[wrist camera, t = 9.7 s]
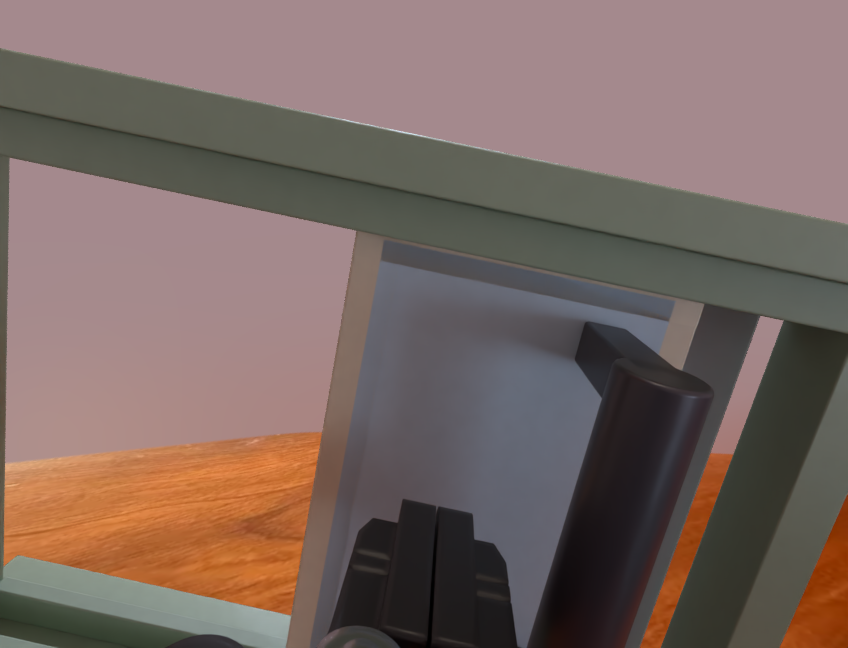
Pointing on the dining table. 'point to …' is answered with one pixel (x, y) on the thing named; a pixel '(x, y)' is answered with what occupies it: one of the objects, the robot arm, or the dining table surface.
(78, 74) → the window frame
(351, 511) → the sash
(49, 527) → the dining table surface
